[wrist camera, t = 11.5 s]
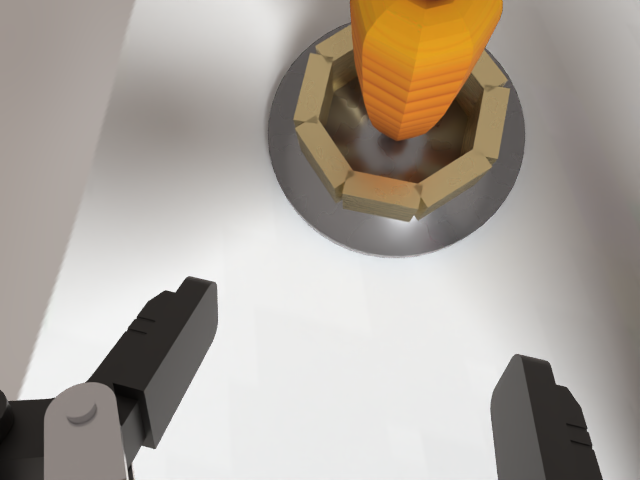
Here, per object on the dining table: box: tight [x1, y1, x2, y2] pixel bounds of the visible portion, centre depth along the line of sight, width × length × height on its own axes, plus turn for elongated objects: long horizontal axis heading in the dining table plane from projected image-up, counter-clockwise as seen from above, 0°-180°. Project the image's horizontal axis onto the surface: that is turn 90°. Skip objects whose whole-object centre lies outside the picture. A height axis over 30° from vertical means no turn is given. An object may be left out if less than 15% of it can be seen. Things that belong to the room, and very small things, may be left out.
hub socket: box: [268, 23, 525, 258], centre depth 24 cm, size 14×14×4 cm
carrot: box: [350, 0, 503, 141], centre depth 17 cm, size 5×5×15 cm
